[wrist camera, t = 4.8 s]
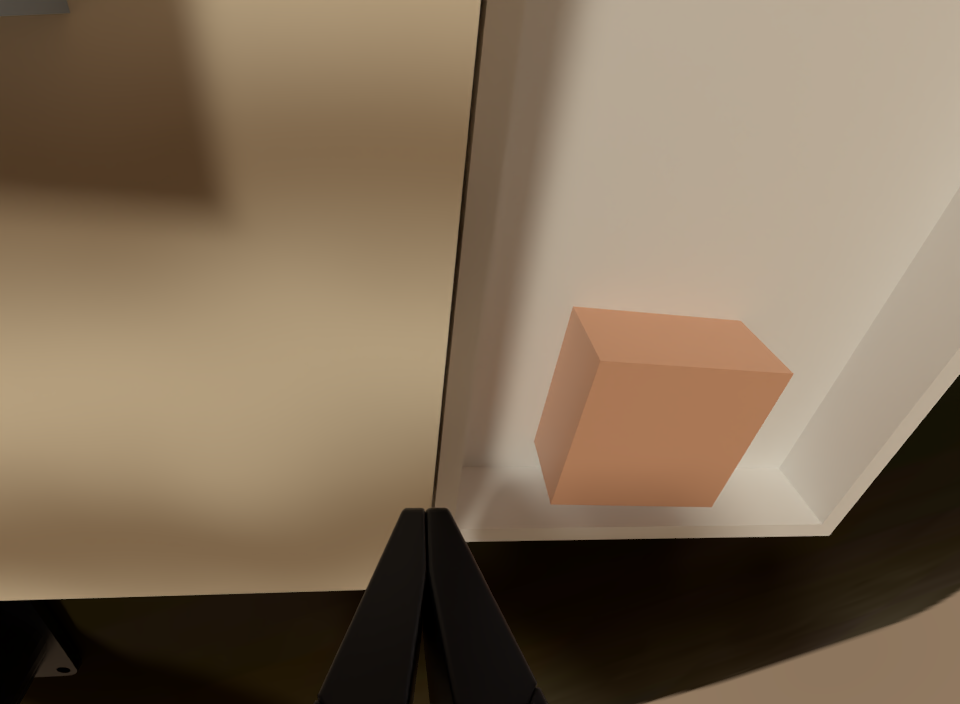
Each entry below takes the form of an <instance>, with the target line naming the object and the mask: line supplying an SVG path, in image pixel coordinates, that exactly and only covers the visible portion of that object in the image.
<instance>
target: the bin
mask: <svg viewBox="0 0 960 704" xmlns="http://www.w3.org/2000/svg"><path fill="white" fill-rule="evenodd" d="M573 306H574V307H586V308H598V309H609V310H621V311H633V312H644V313H656V314H668V315H680V316H691V317H703V318H715V319H726V320H738V321H741V322H742V323H743V324H744V325H745V326H746V327H747V328H748V329H749V330H750V331H751V332H752V333H753V334H754V335H755V336H756V337H757V338H758V339H759V340H760V341H761V342H762V343H763V344H764V345H765V346H766V347H767V348H768V349H769V350H770V351H771V352H772V353H773V354H774V355H775V356H776V357H777V358H778V359H779V360H780V361H781V362H782V363H783V364H784V365H785V366H786V367H787V368H788V369H789V370H790V371H791V372H792V373H793V376H792V378H791V379H790V381H789V382H788V384H787V386H786V387H785V389H784V391H783V392H782V394H781V395H780V397H779V399H778V400H777V402H776V404H775V405H774V407H773V408H772V410H771V412H770V413H769V415H768V417H767V418H766V420H765V421H764V423H763V425H762V426H761V428H760V429H759V431H758V433H757V434H756V436H755V438H754V439H753V441H752V442H751V444H750V446H749V447H748V449H747V451H746V452H745V454H744V455H743V457H742V459H741V460H740V462H739V464H738V465H737V467H736V468H735V470H734V472H733V473H732V475H731V477H730V478H729V480H728V481H727V483H726V485H725V486H724V488H723V489H722V491H721V493H720V494H719V496H718V498H717V499H716V501H715V502H714V504H713V506H712V507H668V506H608V505H551V504H550V500H549V496H548V492H547V489H546V485H545V481H544V477H543V474H542V470H541V466H540V462H539V458H538V455H537V451H536V447H535V443H534V440H535V436H536V433H537V429H538V426H539V422H540V419H541V415H542V412H543V409H544V405H545V402H546V398H547V395H548V391H549V388H550V384H551V381H552V377H553V374H554V370H555V367H556V363H557V360H558V357H559V353H560V350H561V346H562V343H563V339H564V336H565V332H566V329H567V325H568V322H569V318H570V315H571V311H572V308H573ZM959 374H960V0H481V4H480V14H479V24H478V34H477V45H476V55H475V65H474V75H473V86H472V96H471V106H470V116H469V127H468V137H467V147H466V157H465V168H464V178H463V188H462V198H461V209H460V219H459V229H458V239H457V250H456V260H455V270H454V280H453V291H452V301H451V311H450V321H449V332H448V342H447V352H446V362H445V373H444V383H443V393H442V403H441V414H440V424H439V434H438V444H437V455H436V465H435V475H434V485H433V496H432V506H431V508H447V509H449V511H450V512H451V514H452V516H453V518H454V520H455V522H456V524H457V526H458V528H459V530H460V532H461V534H462V536H463V538H464V539H465V541H466V542H479V541H539V540H598V539H658V538H717V537H777V536H829V535H830V534H831V533H832V532H833V530H834V529H835V528H836V527H837V525H838V524H839V523H840V522H841V520H842V519H843V518H844V517H845V515H846V514H847V513H848V512H849V510H850V509H851V508H852V507H853V506H854V504H855V503H856V502H857V501H858V499H859V498H860V497H861V496H862V494H863V493H864V492H865V491H866V489H867V488H868V487H869V486H870V484H871V483H872V482H873V481H874V479H875V478H876V477H877V476H878V475H879V473H880V472H881V471H882V470H883V468H884V467H885V466H886V465H887V463H888V462H889V461H890V460H891V458H892V457H893V456H894V455H895V453H896V452H897V451H898V450H899V448H900V447H901V446H902V445H903V444H904V442H905V441H906V440H907V439H908V437H909V436H910V435H911V434H912V432H913V431H914V430H915V429H916V427H917V426H918V425H919V424H920V422H921V421H922V420H923V419H924V418H925V416H926V415H927V414H928V413H929V411H930V410H931V409H932V408H933V406H934V405H935V404H936V403H937V401H938V400H939V399H940V398H941V396H942V395H943V394H944V393H945V391H946V390H947V389H948V388H949V387H950V385H951V384H952V383H953V382H954V380H955V379H956V378H957V377H958V375H959Z"/></svg>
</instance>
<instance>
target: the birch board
mask: <svg viewBox="0 0 960 704" xmlns="http://www.w3.org/2000/svg"><path fill="white" fill-rule="evenodd" d="M67 3H68V6H69V10H70V13H63V14H41V15H18V16H0V601H10V600H43V599H76V598H109V597H142V596H175V595H209V594H242V593H275V592H308V591H341V590H366V588H367V586H368V584H369V582H370V579H371V577H372V575H373V573H374V571H375V569H376V566H377V564H378V562H379V560H380V558H381V555H382V553H383V551H384V549H385V547H386V544H387V542H388V540H389V538H390V536H391V533H392V531H393V529H394V527H395V525H396V522H397V520H398V518H399V516H400V514H401V512H402V510H403V509H405V508H423V509H425V512H426V510H427V509H428V508H431V506H432V496H433V485H434V475H435V465H436V455H437V444H438V434H439V424H440V414H441V403H442V393H443V383H444V373H445V362H446V352H447V342H448V332H449V321H450V311H451V301H452V291H453V280H454V270H455V260H456V250H457V239H458V229H459V219H460V209H461V198H462V188H463V178H464V168H465V157H466V147H467V137H468V127H469V116H470V106H471V96H472V86H473V75H474V65H475V55H476V45H477V34H478V24H479V14H480V4H481V0H67Z"/></svg>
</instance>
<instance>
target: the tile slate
mask: <svg viewBox="0 0 960 704" xmlns="http://www.w3.org/2000/svg"><path fill="white" fill-rule="evenodd" d="M63 13H70V10H69V6H68V3H67V0H0V16H18V15H41V14H63Z"/></svg>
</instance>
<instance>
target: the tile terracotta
mask: <svg viewBox="0 0 960 704" xmlns="http://www.w3.org/2000/svg"><path fill="white" fill-rule="evenodd" d="M792 376H793V373H792V372H791V371H790V370H789V369H788V368H787V367H786V366H785V365H784V364H783V363H782V362H781V361H780V360H779V359H778V358H777V357H776V356H775V355H774V354H773V353H772V352H771V351H770V350H769V349H768V348H767V347H766V346H765V345H764V344H763V343H762V342H761V341H760V340H759V339H758V338H757V337H756V336H755V335H754V334H753V333H752V332H751V331H750V330H749V329H748V328H747V327H746V326H745V325H744V324H743V323H742V322H741V321H738V320H726V319H715V318H703V317H691V316H680V315H668V314H656V313H644V312H633V311H621V310H609V309H598V308H586V307H574V306H573V308H572V311H571V315H570V318H569V322H568V325H567V329H566V332H565V336H564V339H563V343H562V346H561V350H560V353H559V357H558V360H557V363H556V367H555V370H554V374H553V377H552V381H551V384H550V388H549V391H548V395H547V398H546V402H545V405H544V409H543V412H542V415H541V419H540V422H539V426H538V429H537V433H536V436H535V440H534V443H535V447H536V451H537V455H538V458H539V462H540V466H541V470H542V474H543V477H544V481H545V485H546V489H547V492H548V496H549V500H550V504H551V505H608V506H668V507H712V506H713V504H714V502H715V501H716V499H717V498H718V496H719V494H720V493H721V491H722V489H723V488H724V486H725V485H726V483H727V481H728V480H729V478H730V477H731V475H732V473H733V472H734V470H735V468H736V467H737V465H738V464H739V462H740V460H741V459H742V457H743V455H744V454H745V452H746V451H747V449H748V447H749V446H750V444H751V442H752V441H753V439H754V438H755V436H756V434H757V433H758V431H759V429H760V428H761V426H762V425H763V423H764V421H765V420H766V418H767V417H768V415H769V413H770V412H771V410H772V408H773V407H774V405H775V404H776V402H777V400H778V399H779V397H780V395H781V394H782V392H783V391H784V389H785V387H786V386H787V384H788V382H789V381H790V379H791V378H792Z"/></svg>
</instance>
